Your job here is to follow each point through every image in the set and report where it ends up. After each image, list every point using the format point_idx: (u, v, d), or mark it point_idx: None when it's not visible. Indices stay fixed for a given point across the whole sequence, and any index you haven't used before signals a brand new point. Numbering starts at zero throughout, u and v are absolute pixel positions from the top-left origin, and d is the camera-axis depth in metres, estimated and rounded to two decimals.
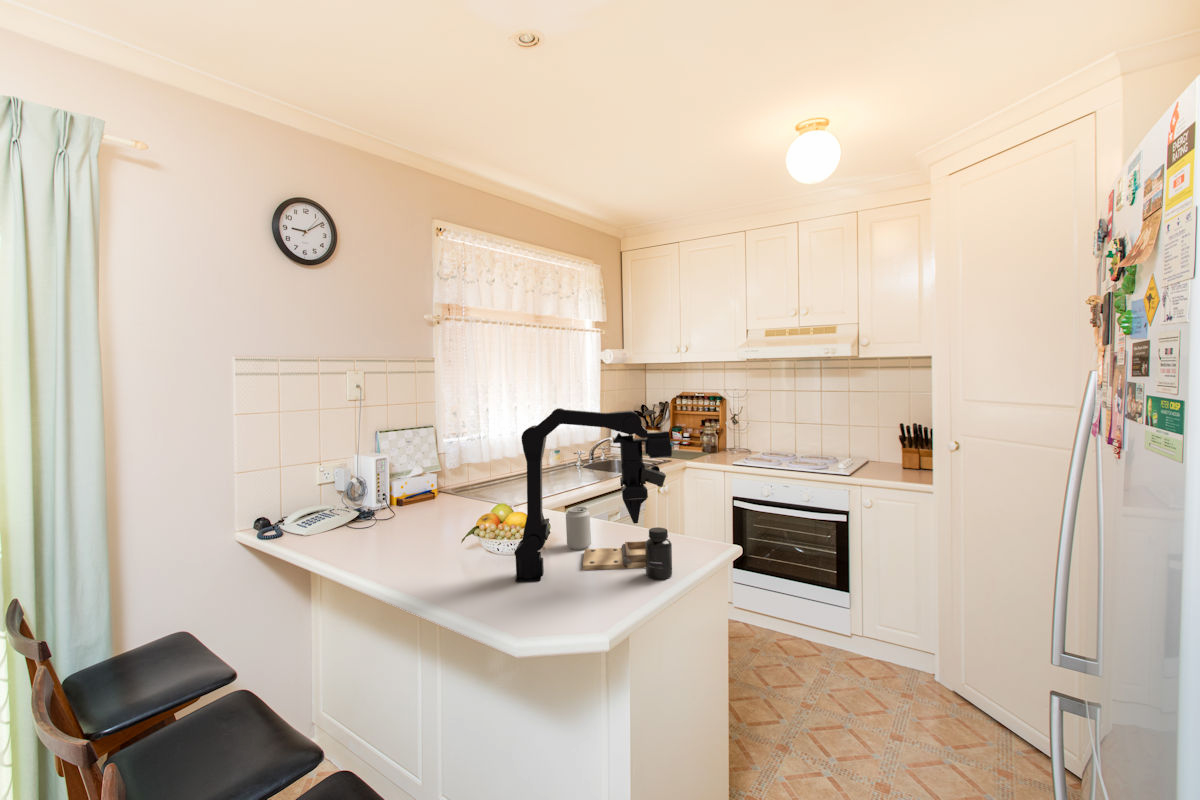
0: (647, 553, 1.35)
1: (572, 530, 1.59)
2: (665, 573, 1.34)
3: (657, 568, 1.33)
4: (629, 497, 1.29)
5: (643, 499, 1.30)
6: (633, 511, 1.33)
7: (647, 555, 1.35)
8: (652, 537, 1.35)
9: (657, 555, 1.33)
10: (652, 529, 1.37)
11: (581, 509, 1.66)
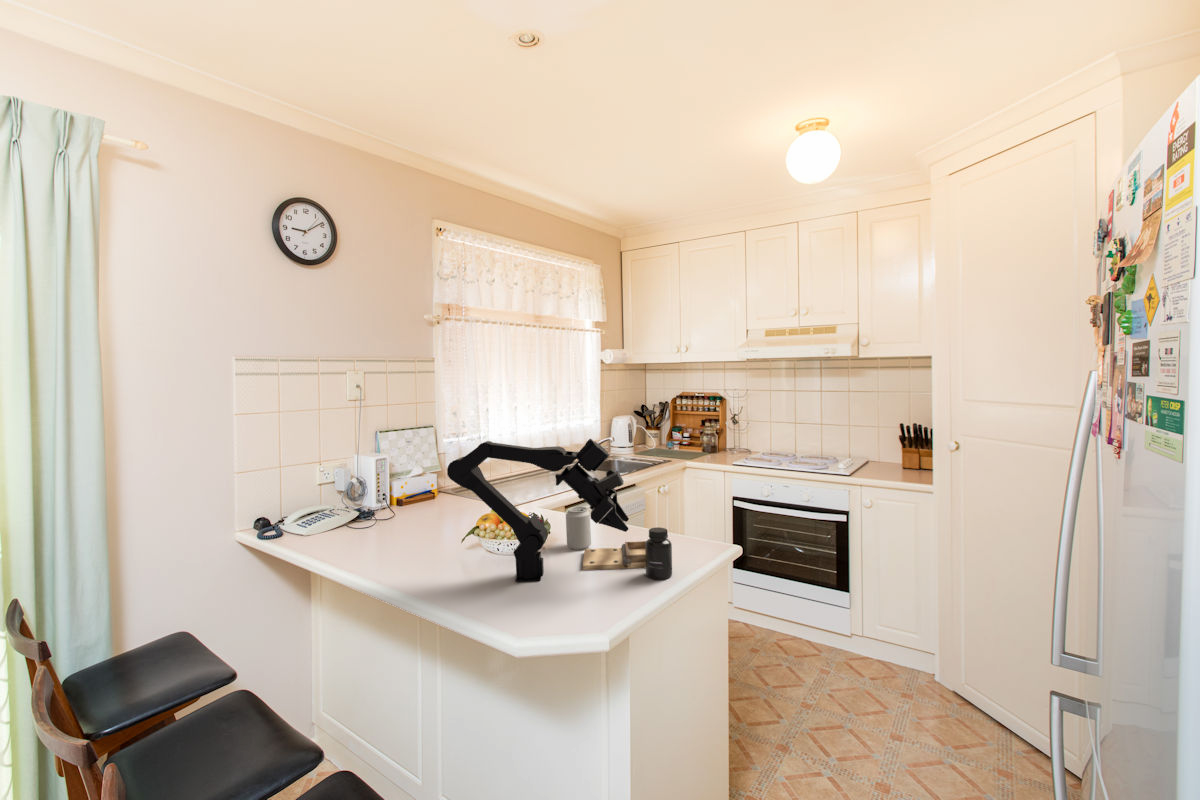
0: (647, 553, 1.35)
1: (572, 530, 1.59)
2: (665, 573, 1.34)
3: (657, 568, 1.33)
4: (599, 518, 1.28)
5: (612, 509, 1.29)
6: (616, 523, 1.31)
7: (647, 555, 1.35)
8: (652, 537, 1.35)
9: (657, 555, 1.33)
10: (652, 529, 1.37)
11: (581, 509, 1.66)
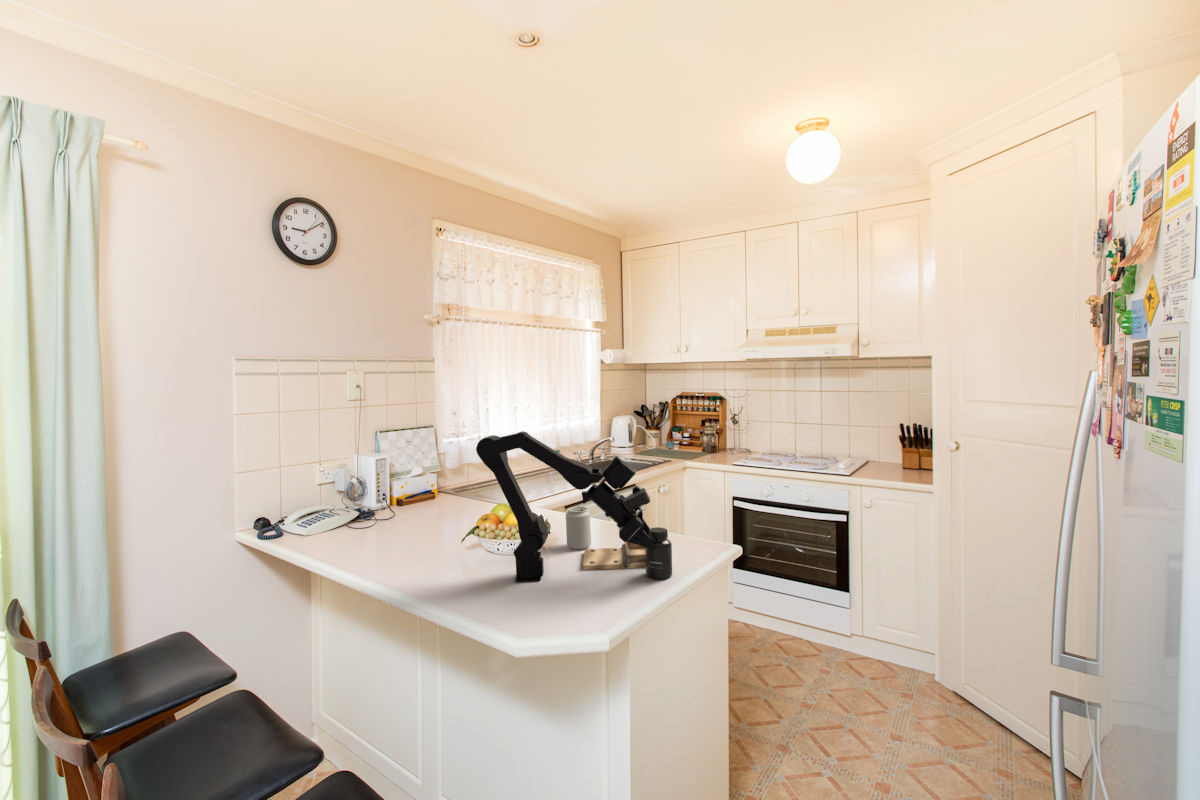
0: (647, 553, 1.35)
1: (572, 530, 1.59)
2: (665, 573, 1.34)
3: (657, 568, 1.33)
4: (628, 537, 1.28)
5: (641, 528, 1.29)
6: (644, 542, 1.31)
7: (647, 555, 1.35)
8: (652, 537, 1.35)
9: (657, 555, 1.33)
10: (652, 529, 1.37)
11: (581, 509, 1.66)
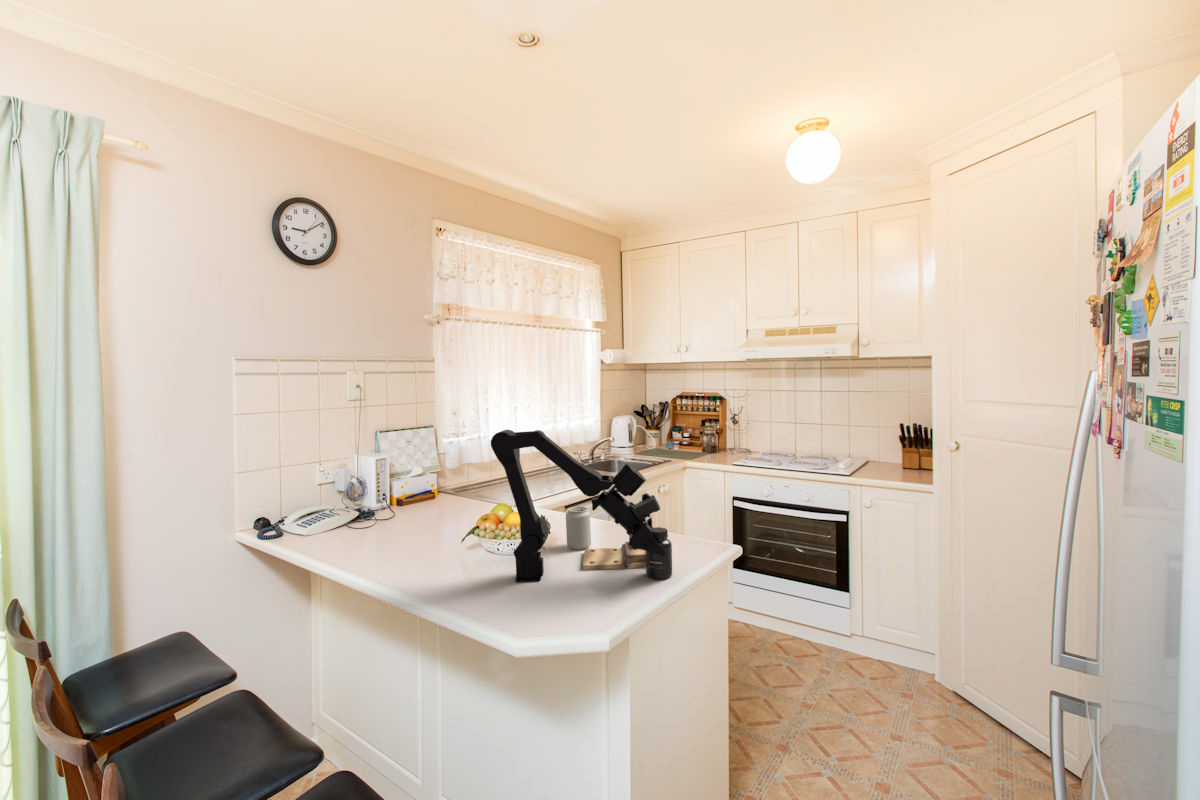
0: (647, 553, 1.35)
1: (572, 530, 1.59)
2: (665, 573, 1.34)
3: (657, 568, 1.33)
4: (638, 544, 1.27)
5: (651, 534, 1.30)
6: (653, 548, 1.32)
7: (647, 555, 1.35)
8: None
9: (657, 555, 1.33)
10: None
11: (581, 509, 1.66)
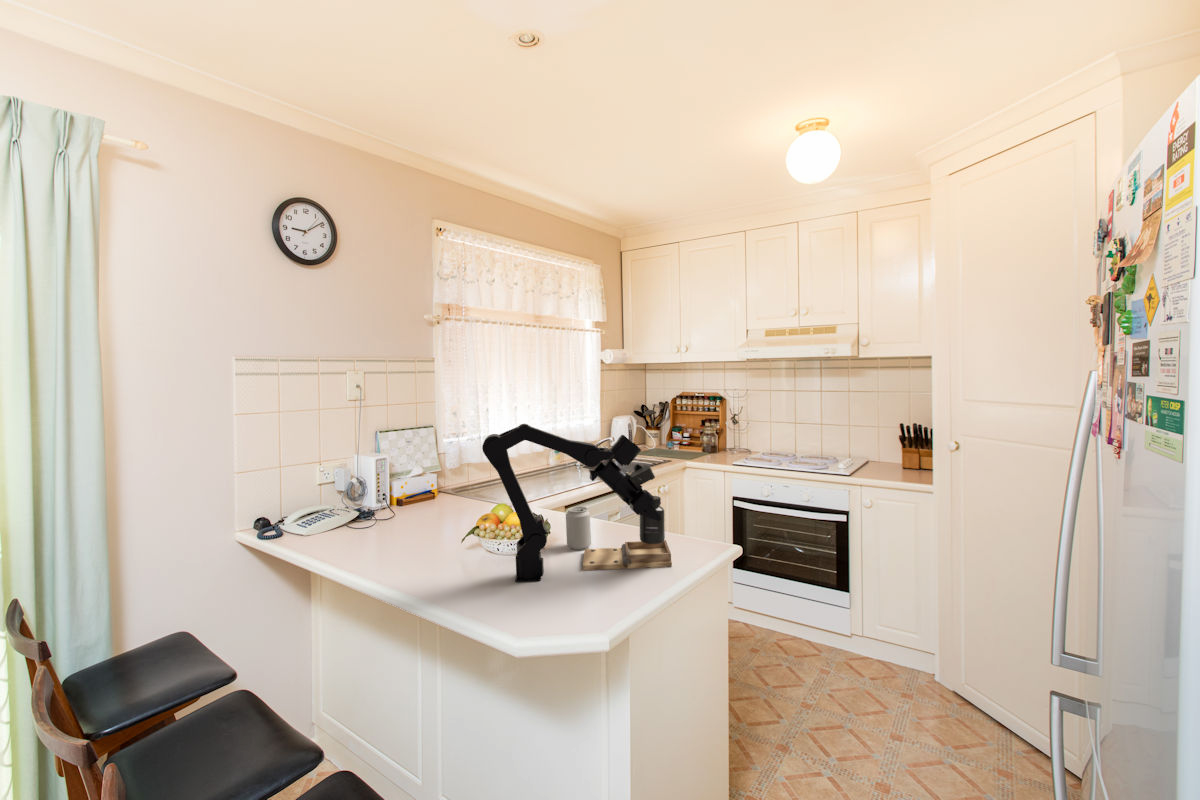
0: (643, 520, 1.42)
1: (572, 530, 1.59)
2: (660, 537, 1.42)
3: (654, 533, 1.41)
4: (641, 509, 1.34)
5: None
6: (651, 513, 1.40)
7: (643, 521, 1.42)
8: None
9: (653, 520, 1.41)
10: None
11: (581, 509, 1.66)
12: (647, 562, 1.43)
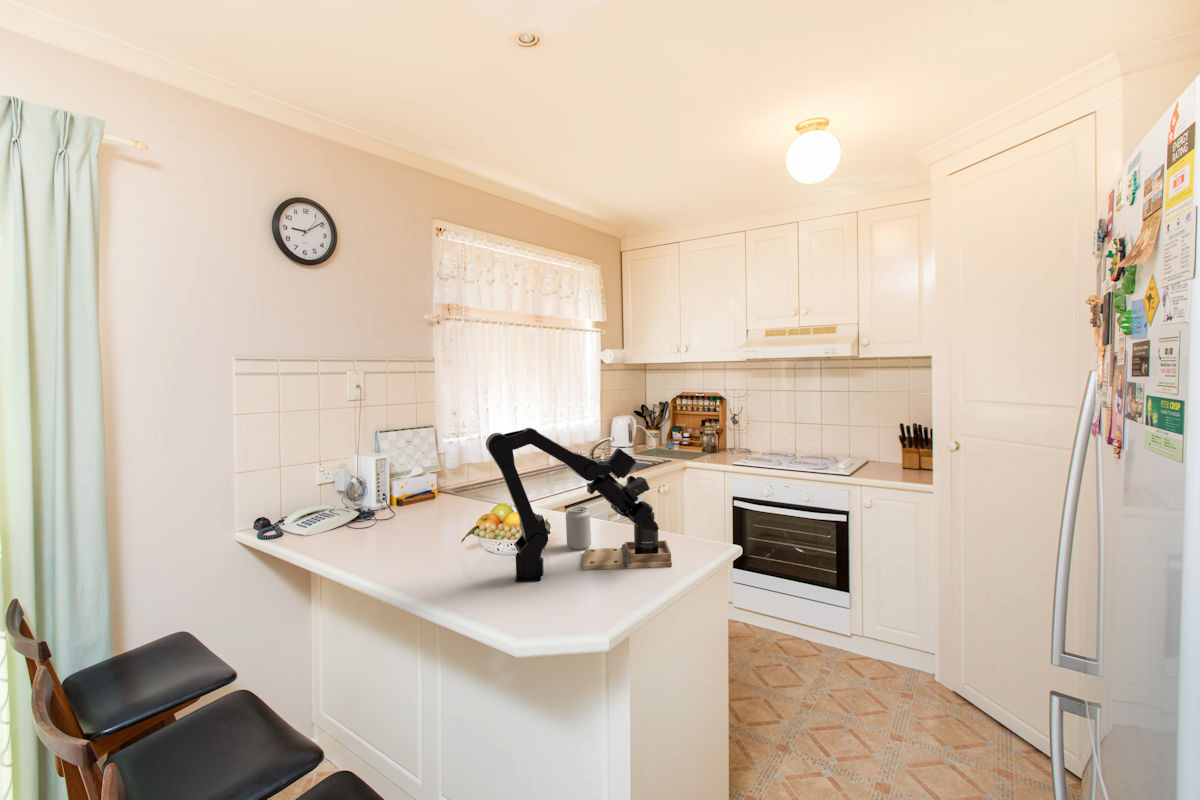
0: (638, 535, 1.47)
1: (572, 530, 1.59)
2: (655, 551, 1.47)
3: (649, 547, 1.46)
4: (642, 520, 1.39)
5: (650, 511, 1.41)
6: (650, 524, 1.44)
7: (638, 536, 1.47)
8: None
9: (649, 535, 1.46)
10: None
11: (581, 509, 1.66)
12: (647, 562, 1.43)
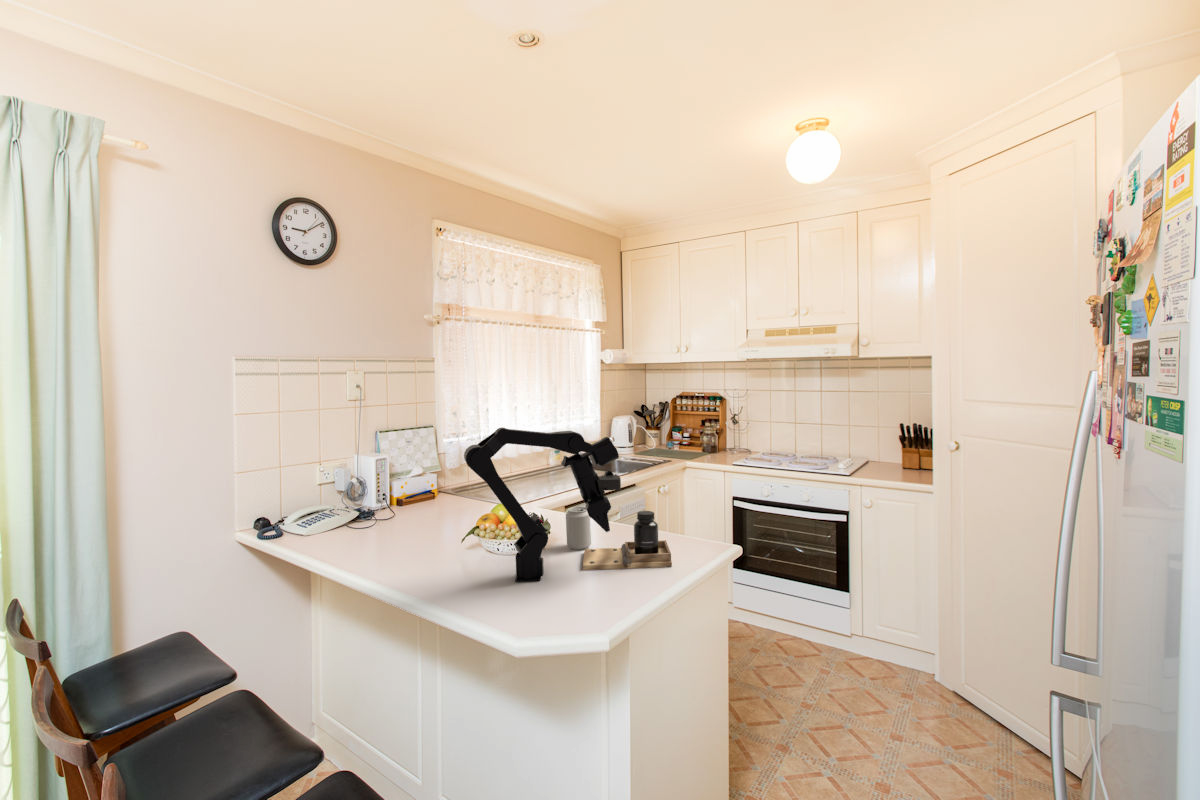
0: (638, 535, 1.47)
1: (572, 530, 1.59)
2: (655, 551, 1.47)
3: (649, 547, 1.46)
4: (595, 513, 1.35)
5: (608, 509, 1.37)
6: (602, 522, 1.40)
7: (638, 536, 1.47)
8: (643, 519, 1.47)
9: (649, 535, 1.46)
10: (640, 512, 1.49)
11: (581, 509, 1.66)
12: (647, 562, 1.43)
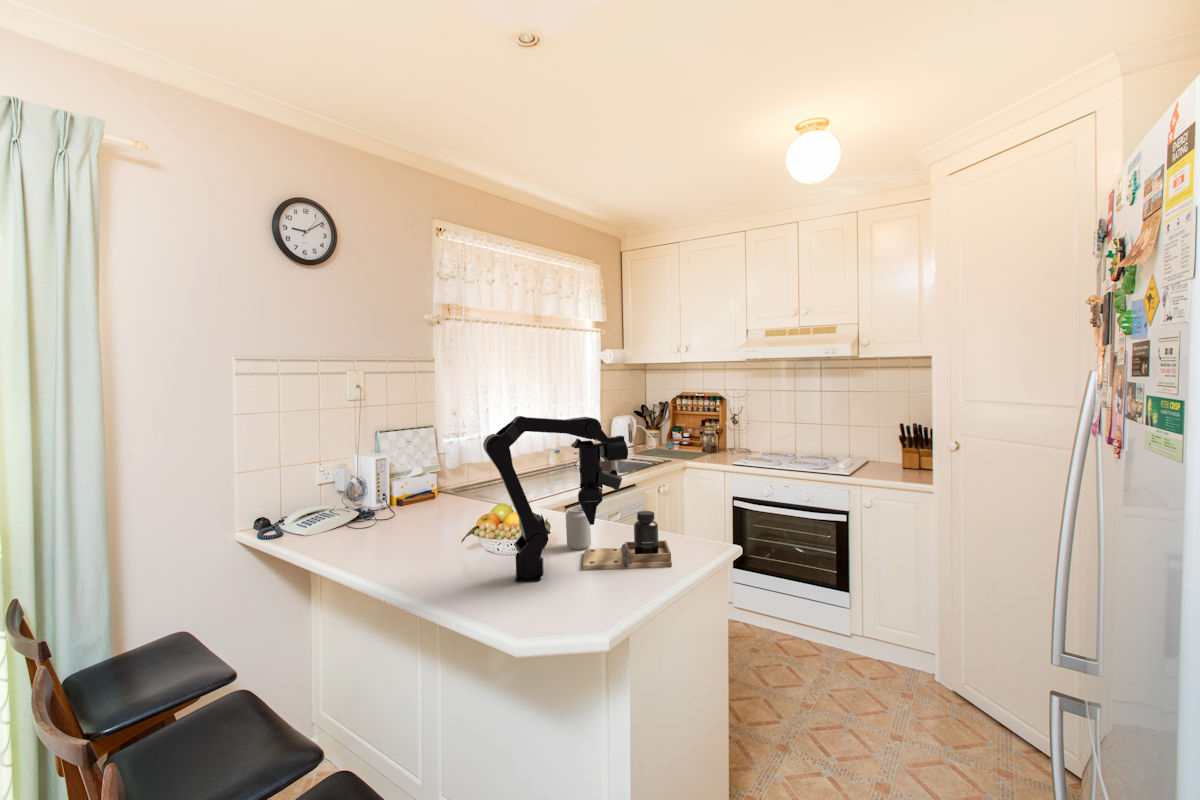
0: (638, 535, 1.47)
1: (572, 530, 1.59)
2: (655, 551, 1.47)
3: (649, 547, 1.46)
4: (584, 500, 1.35)
5: (598, 502, 1.36)
6: (589, 513, 1.39)
7: (638, 536, 1.47)
8: (643, 519, 1.47)
9: (649, 535, 1.46)
10: (640, 512, 1.49)
11: (581, 509, 1.66)
12: (647, 562, 1.43)
